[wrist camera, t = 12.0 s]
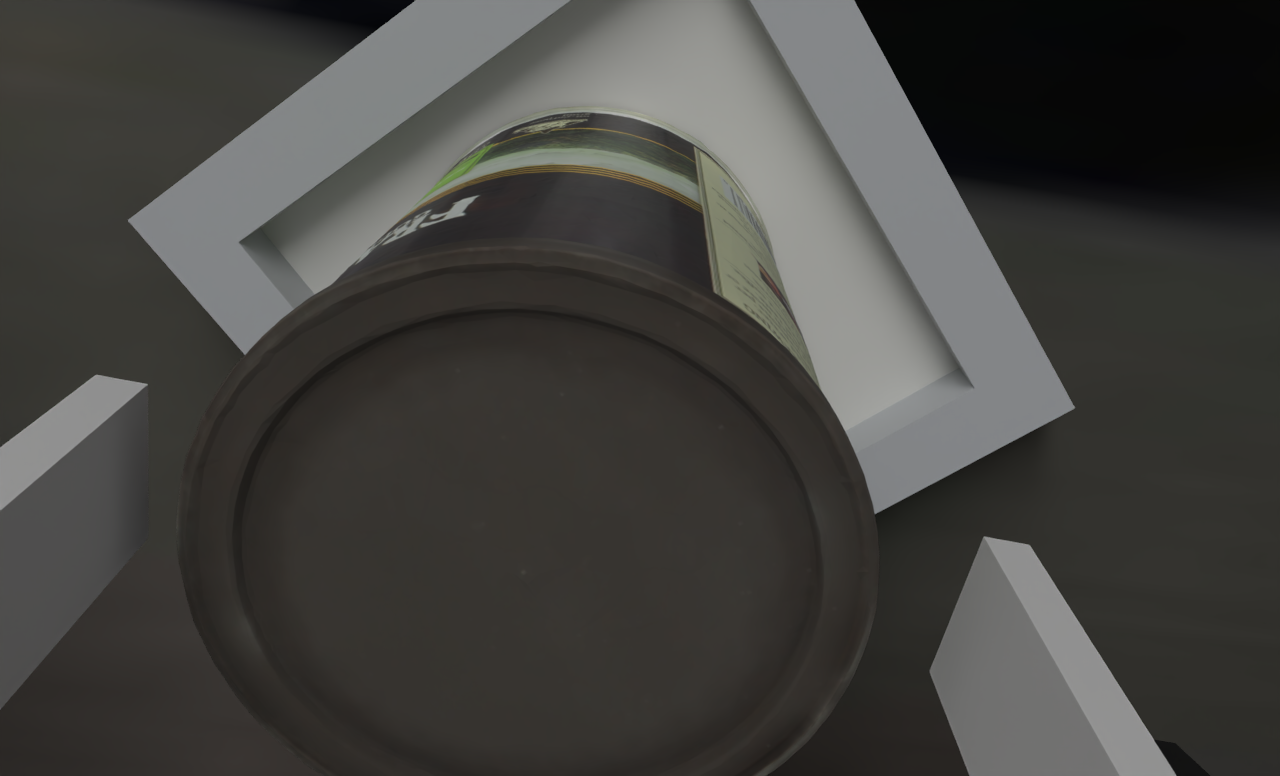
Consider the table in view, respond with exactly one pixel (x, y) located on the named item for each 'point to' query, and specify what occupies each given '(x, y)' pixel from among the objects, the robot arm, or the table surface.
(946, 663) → the robot arm
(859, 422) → the plate
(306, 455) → the coffee can
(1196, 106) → the table surface
